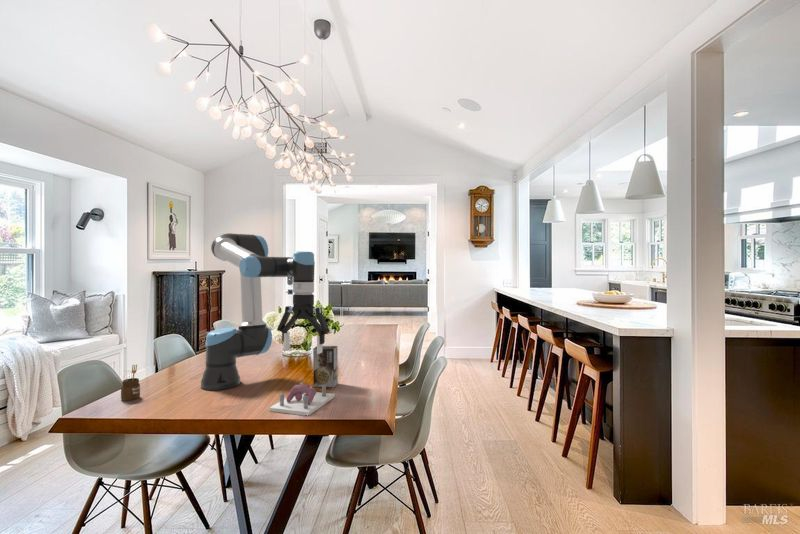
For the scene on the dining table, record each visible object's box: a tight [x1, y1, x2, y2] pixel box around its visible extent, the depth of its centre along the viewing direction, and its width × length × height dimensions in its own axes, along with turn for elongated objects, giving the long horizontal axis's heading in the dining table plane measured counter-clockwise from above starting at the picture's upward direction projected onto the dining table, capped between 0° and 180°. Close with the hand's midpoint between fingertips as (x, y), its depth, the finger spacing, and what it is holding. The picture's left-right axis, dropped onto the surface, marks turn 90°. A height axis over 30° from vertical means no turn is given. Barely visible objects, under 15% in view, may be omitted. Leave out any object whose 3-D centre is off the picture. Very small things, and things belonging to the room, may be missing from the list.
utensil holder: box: [120, 364, 141, 402], centre depth 147 cm, size 6×6×12 cm
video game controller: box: [286, 383, 317, 405], centre depth 141 cm, size 10×5×7 cm, turn 72°
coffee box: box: [312, 345, 339, 388], centre depth 165 cm, size 9×6×16 cm
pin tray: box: [268, 382, 335, 417], centre depth 142 cm, size 15×20×5 cm
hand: (302, 351), depth 143 cm, fingers open, 13 cm apart
